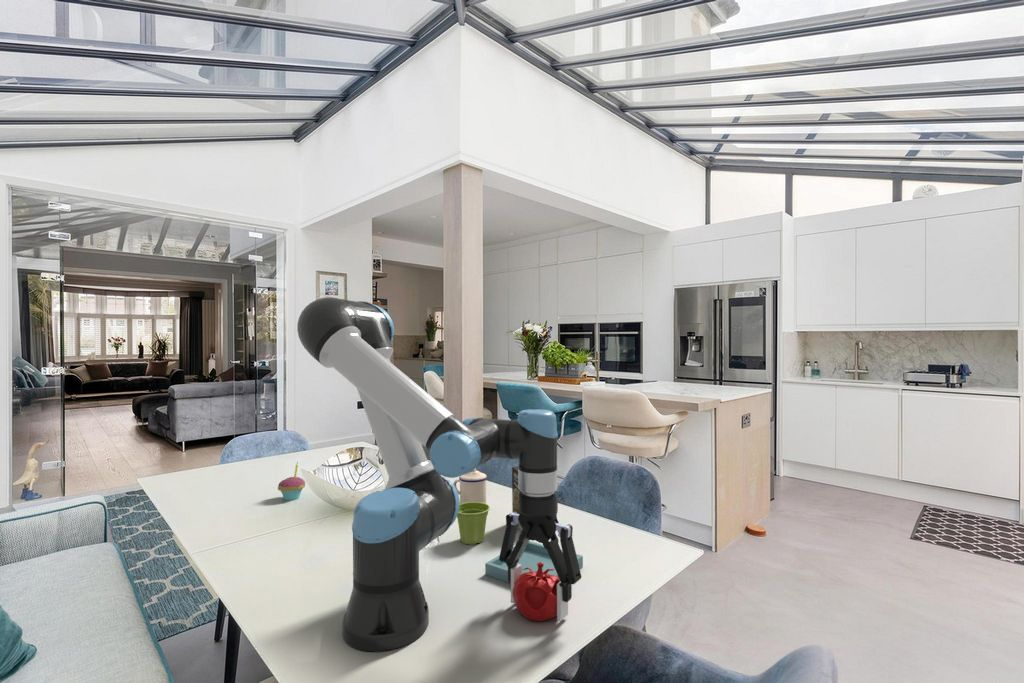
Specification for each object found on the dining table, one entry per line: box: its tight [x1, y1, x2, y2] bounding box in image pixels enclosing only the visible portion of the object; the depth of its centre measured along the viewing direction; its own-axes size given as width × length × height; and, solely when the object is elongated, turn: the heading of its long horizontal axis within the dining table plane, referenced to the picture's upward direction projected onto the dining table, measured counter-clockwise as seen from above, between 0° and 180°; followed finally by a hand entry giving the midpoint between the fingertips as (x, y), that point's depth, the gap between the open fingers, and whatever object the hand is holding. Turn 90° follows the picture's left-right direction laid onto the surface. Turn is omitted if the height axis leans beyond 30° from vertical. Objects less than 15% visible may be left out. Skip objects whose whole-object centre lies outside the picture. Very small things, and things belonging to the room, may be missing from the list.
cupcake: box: [277, 461, 306, 501], centre depth 163 cm, size 9×8×12 cm
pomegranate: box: [513, 562, 560, 622], centre depth 92 cm, size 10×10×9 cm
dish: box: [484, 540, 584, 584], centre depth 109 cm, size 16×16×2 cm
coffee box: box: [511, 465, 523, 532], centre depth 137 cm, size 9×6×16 cm
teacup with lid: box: [452, 467, 488, 504], centre depth 157 cm, size 12×9×12 cm
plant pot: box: [456, 502, 491, 546], centre depth 126 cm, size 9×9×9 cm
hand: (538, 608), depth 91 cm, fingers closed on pomegranate, 10 cm apart
